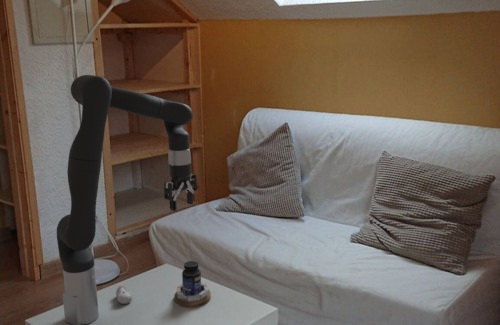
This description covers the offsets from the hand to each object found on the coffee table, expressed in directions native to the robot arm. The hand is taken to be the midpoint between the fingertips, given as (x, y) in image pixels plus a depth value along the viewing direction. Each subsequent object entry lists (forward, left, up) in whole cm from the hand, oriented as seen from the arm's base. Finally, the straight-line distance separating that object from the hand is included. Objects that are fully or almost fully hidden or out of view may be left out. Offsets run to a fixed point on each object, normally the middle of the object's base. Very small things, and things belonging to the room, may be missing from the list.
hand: (181, 207), depth 183 cm
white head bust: (-22, +8, -28) cm, 36 cm away
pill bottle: (-9, -11, -26) cm, 30 cm away
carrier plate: (-9, -11, -28) cm, 31 cm away
